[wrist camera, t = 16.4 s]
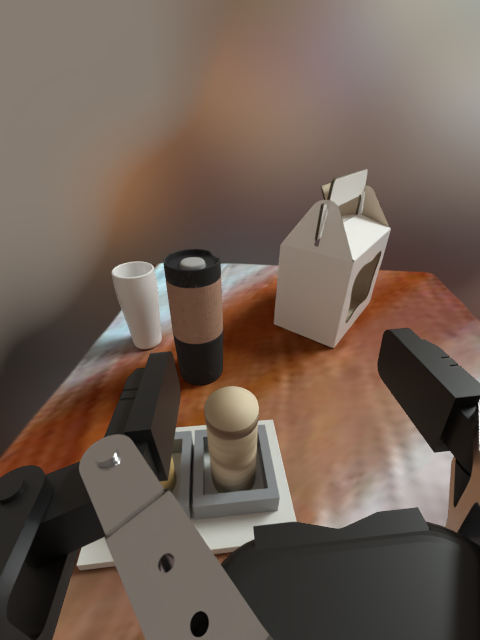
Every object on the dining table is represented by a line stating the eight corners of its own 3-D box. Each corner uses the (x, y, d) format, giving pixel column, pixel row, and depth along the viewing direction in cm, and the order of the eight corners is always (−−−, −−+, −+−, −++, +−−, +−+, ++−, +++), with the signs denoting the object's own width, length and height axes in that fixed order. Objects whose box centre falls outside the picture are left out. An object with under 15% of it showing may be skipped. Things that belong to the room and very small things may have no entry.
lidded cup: (241, 448, 37) (241, 379, 30) (264, 484, 33) (269, 415, 26) (204, 467, 35) (195, 398, 28) (223, 507, 31) (218, 440, 24)
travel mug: (172, 383, 48) (153, 268, 36) (186, 353, 54) (173, 246, 43) (219, 389, 47) (214, 272, 35) (228, 357, 53) (225, 250, 42)
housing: (272, 425, 41) (274, 406, 39) (298, 543, 30) (304, 526, 27) (116, 438, 39) (109, 418, 37) (80, 570, 28) (66, 553, 26)
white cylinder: (148, 327, 60) (134, 258, 52) (173, 338, 57) (163, 266, 49) (121, 345, 55) (101, 271, 47) (147, 358, 53) (131, 282, 44)
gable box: (317, 286, 76) (338, 164, 61) (369, 302, 70) (408, 170, 54) (272, 325, 62) (284, 177, 46) (332, 349, 55) (371, 187, 39)
